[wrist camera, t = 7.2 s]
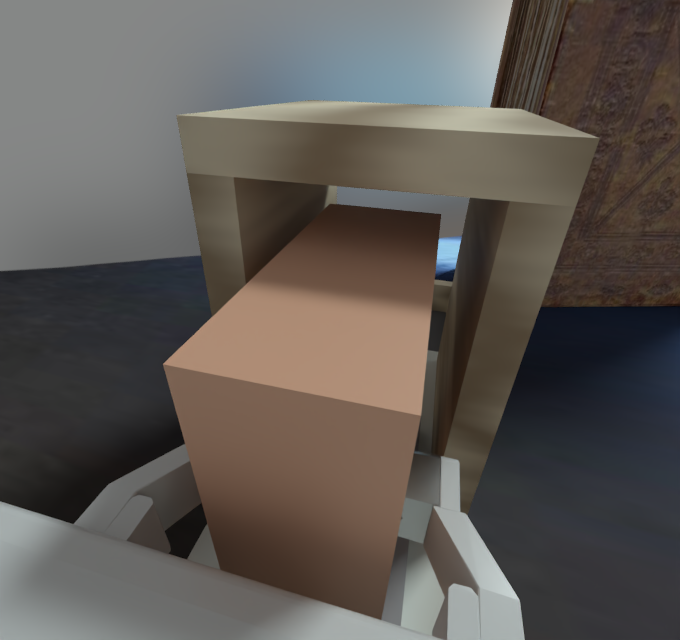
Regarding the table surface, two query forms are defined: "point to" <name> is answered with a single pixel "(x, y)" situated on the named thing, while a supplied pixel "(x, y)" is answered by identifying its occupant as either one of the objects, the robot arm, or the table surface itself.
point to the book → (607, 139)
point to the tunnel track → (448, 297)
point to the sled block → (315, 408)
